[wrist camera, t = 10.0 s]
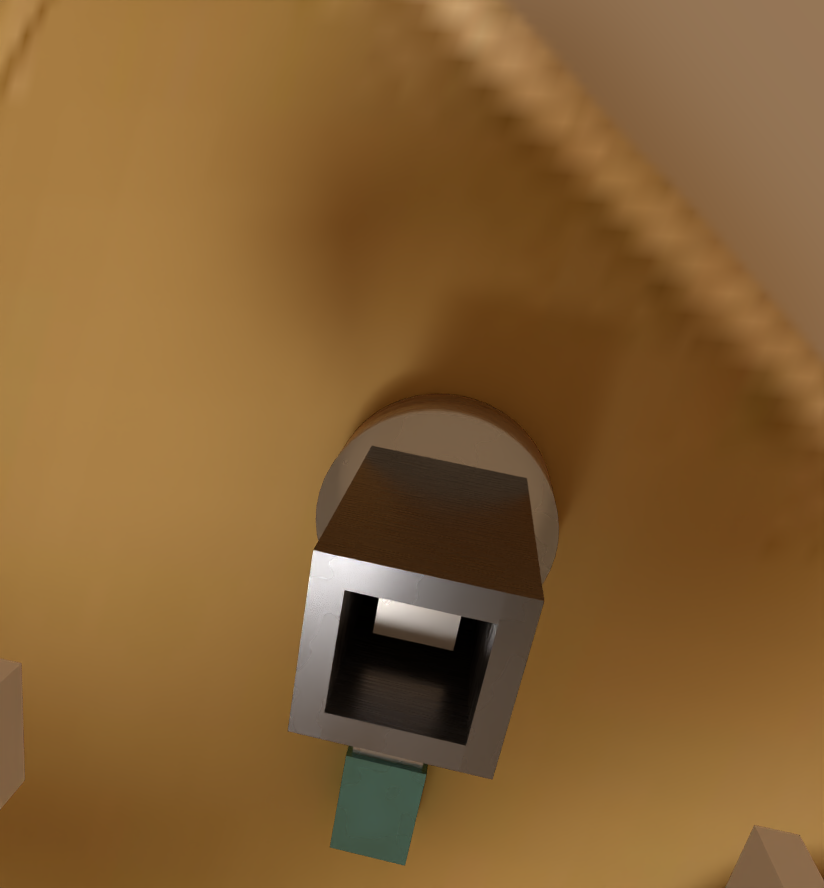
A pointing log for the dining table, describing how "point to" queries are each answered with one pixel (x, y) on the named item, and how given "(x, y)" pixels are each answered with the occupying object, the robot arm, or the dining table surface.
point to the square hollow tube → (429, 586)
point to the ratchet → (449, 439)
